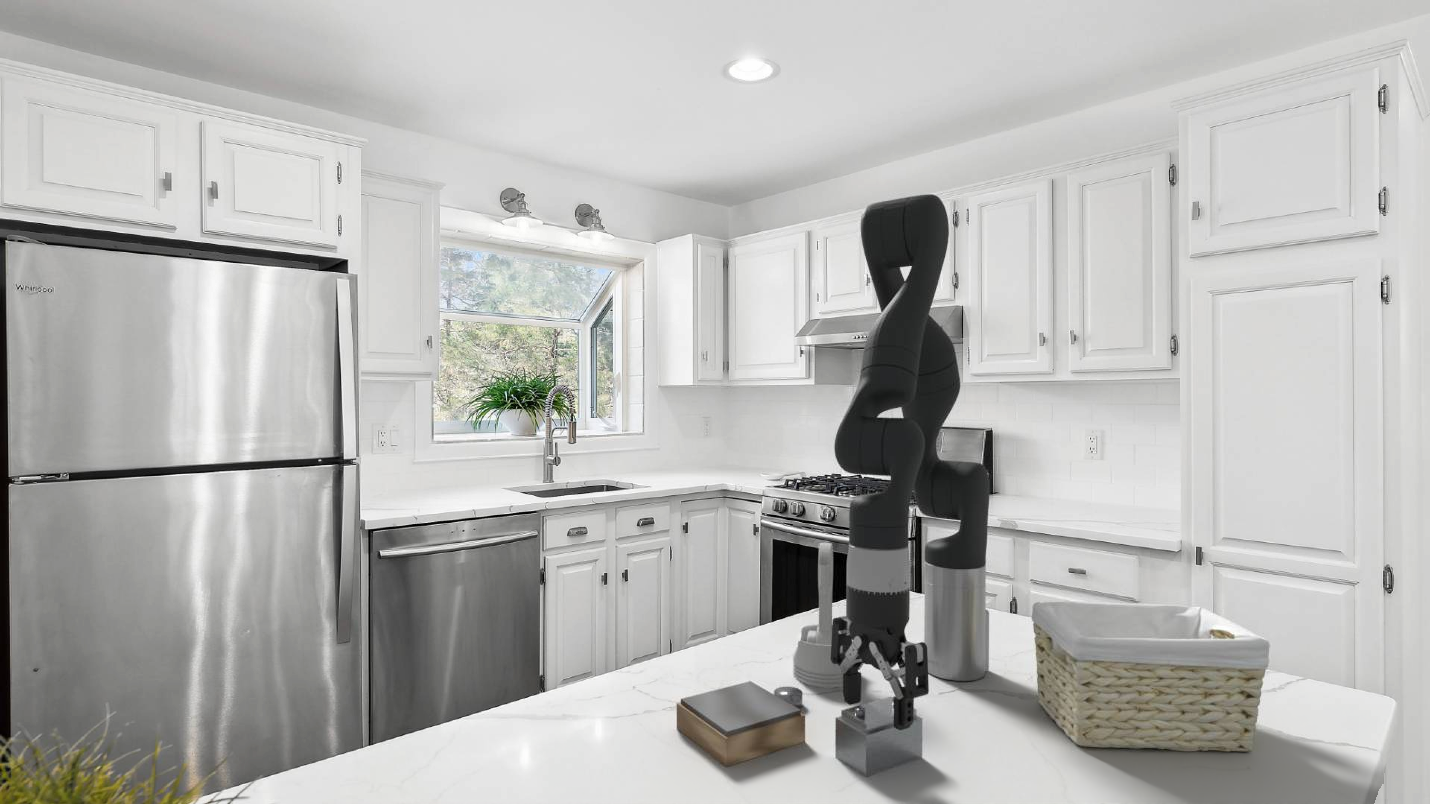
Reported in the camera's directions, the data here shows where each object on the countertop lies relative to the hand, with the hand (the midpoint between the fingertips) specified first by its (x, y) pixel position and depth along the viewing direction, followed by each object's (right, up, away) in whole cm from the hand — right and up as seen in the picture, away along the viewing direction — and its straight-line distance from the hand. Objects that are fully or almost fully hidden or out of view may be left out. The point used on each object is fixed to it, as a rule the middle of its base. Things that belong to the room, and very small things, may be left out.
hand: (876, 715), depth 93 cm
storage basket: (+37, -5, +8) cm, 38 cm away
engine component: (-2, -5, +27) cm, 28 cm away
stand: (-16, -5, +6) cm, 18 cm away
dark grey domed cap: (-9, -5, +16) cm, 19 cm away
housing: (0, -6, 0) cm, 6 cm away
